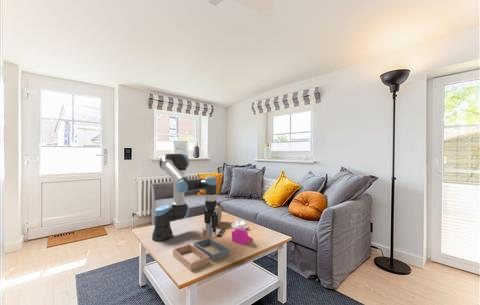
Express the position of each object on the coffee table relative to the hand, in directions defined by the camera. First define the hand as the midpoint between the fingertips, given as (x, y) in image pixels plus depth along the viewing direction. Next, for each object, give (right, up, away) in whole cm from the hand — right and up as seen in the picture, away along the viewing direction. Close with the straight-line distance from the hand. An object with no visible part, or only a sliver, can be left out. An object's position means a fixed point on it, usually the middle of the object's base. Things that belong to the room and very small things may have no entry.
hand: (210, 235), depth 140 cm
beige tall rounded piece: (-5, -11, +51) cm, 53 cm away
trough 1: (-11, -11, -10) cm, 19 cm away
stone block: (0, 0, 0) cm, 0 cm away
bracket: (+21, -11, +18) cm, 30 cm away
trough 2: (0, -11, 0) cm, 11 cm away
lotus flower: (+18, -11, +40) cm, 45 cm away
